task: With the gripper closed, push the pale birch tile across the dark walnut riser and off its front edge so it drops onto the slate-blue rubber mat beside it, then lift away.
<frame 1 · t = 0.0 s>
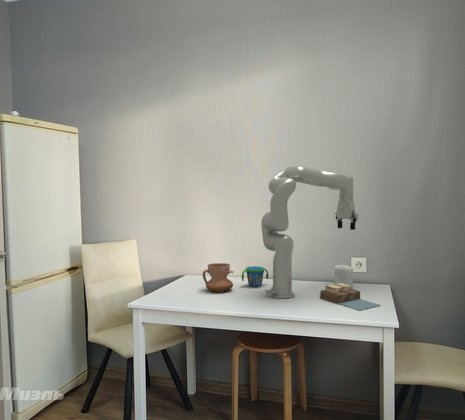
hand: (346, 228, 243), 31 cm above the table, tool pointing down, fingers open, 9 cm apart
white upright block: (343, 287, 237), on the table
birch tile: (337, 287, 215), point 5 cm above the table, touching walnut riser
ceramic jug: (218, 290, 234), on the table
walnut riser: (340, 298, 214), on the table
slate mat: (359, 305, 203), on the table
snack cup: (255, 286, 243), on the table
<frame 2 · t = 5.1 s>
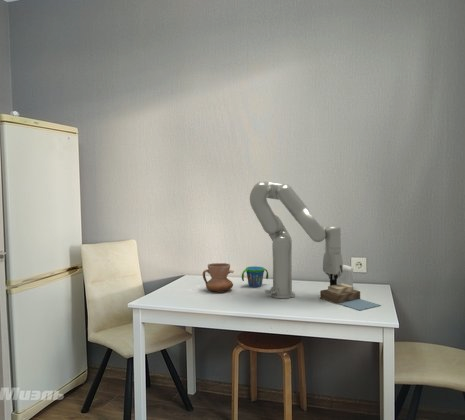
hand: (333, 286, 218), 5 cm above the table, tool pointing down, fingers closed
birch tile: (340, 288, 213), point 5 cm above the table, touching gripper
everything else where it was.
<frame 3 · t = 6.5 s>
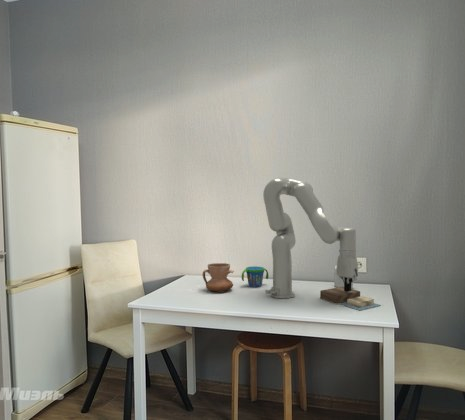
hand: (347, 290, 209), 5 cm above the table, tool pointing down, fingers closed
birch tile: (360, 301, 202), point 2 cm above the table, tilted 180°, touching slate mat
everything else where it was.
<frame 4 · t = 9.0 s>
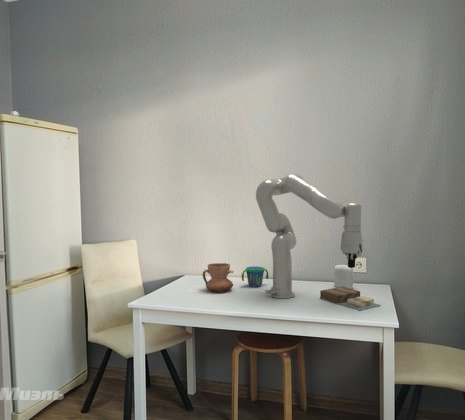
hand: (351, 267, 206), 17 cm above the table, tool pointing down, fingers closed
nothing on the table moved.
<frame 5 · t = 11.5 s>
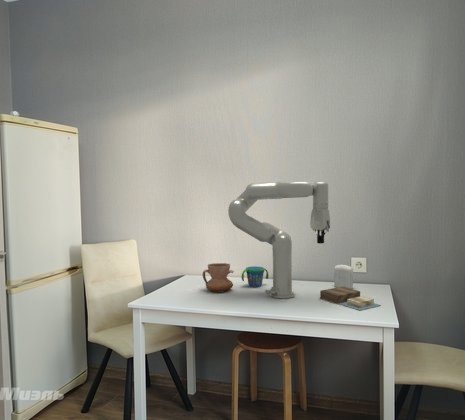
hand: (320, 243, 217), 27 cm above the table, tool pointing down, fingers closed
nothing on the table moved.
at the end: birch tile inside the target area (0.1 cm from its centre), point 1.6 cm above the table; birch tile touching slate mat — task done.
